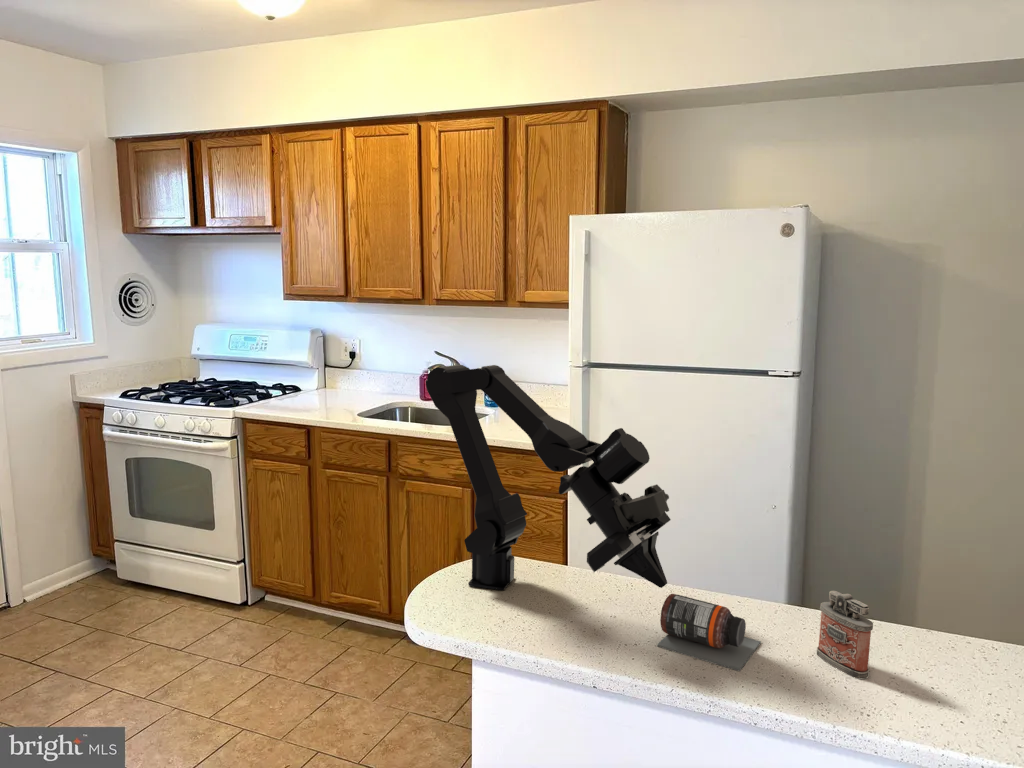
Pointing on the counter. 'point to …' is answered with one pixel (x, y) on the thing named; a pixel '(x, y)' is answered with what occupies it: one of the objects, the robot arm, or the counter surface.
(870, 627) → the lighter
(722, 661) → the mat
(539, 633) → the counter surface
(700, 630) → the supplement bottle
